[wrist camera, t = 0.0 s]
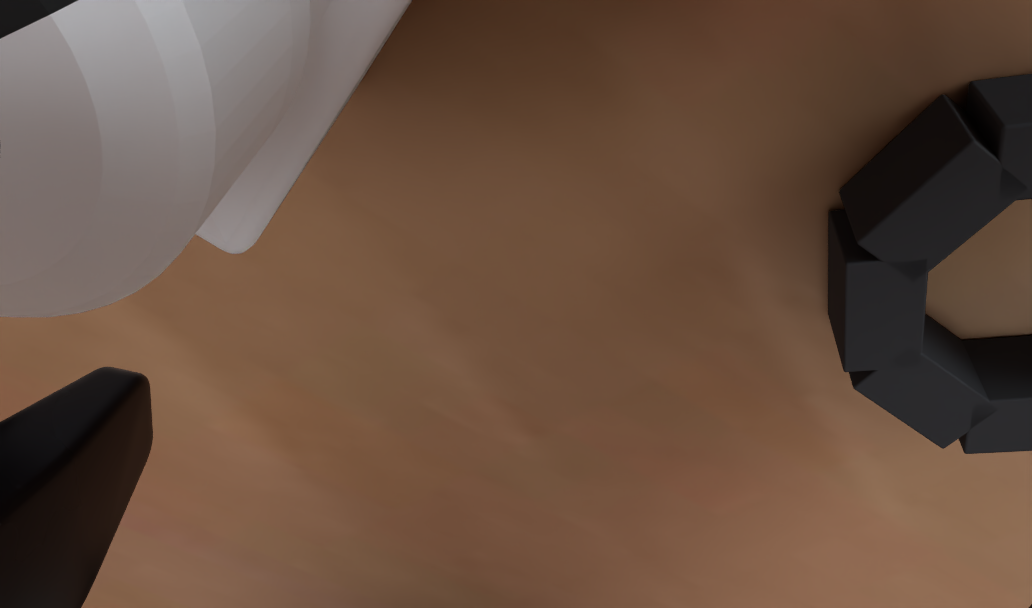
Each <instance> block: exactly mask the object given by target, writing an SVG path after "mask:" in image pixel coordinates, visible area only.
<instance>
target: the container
mask: <svg viewBox="0 0 1032 608" xmlns="http://www.w3.org/2000/svg"><path fill="white" fill-rule="evenodd" d="M411 1H412V0H0V317H55V316H62V315H69V314H77V313H83V312H86V311H89V310H93V309H96V308H100V307H103V306H106V305H110V304H112V303H114V302H116V301H118V300H120V299H123V298H125V297H127V296H129V295H131V294H133V293H135V292H137V291H138V290H140V289H141V288H143V287H144V286H145V285H147V284H148V283H149V282H151V281H152V280H154V279H155V278H156V277H158V276H159V275H160V274H161V273H162V272H163V271H164V270H165V269H166V268H167V267H168V266H169V265H170V264H171V263H172V262H173V261H174V260H175V259H176V258H177V256H178V255H179V254H180V253H181V252H182V251H183V249H184V248H185V247H186V245H187V244H188V243H189V241H190V240H191V239H192V237H193V236H194V235H195V234H196V235H198V236H199V237H201V238H203V239H204V240H206V241H208V242H209V243H211V244H213V245H214V246H216V247H218V248H220V249H221V250H223V251H226V252H228V253H231V254H238V253H243V252H245V251H246V250H248V249H249V248H250V247H251V246H253V245H254V244H255V243H256V241H257V240H258V238H259V237H260V235H261V234H262V232H263V231H264V229H265V228H266V226H267V225H268V223H269V222H270V220H271V218H272V217H273V215H274V214H275V212H276V211H277V209H278V208H279V206H280V205H281V203H282V202H283V200H284V199H285V197H286V195H287V194H288V192H289V191H290V189H291V188H292V186H293V185H294V183H295V182H296V180H297V179H298V177H299V176H300V174H301V173H302V171H303V169H304V168H305V166H306V165H307V163H308V162H309V160H310V159H311V157H312V156H313V154H314V153H315V151H316V150H317V148H318V146H319V145H320V143H321V142H322V140H323V139H324V137H325V136H326V134H327V133H328V131H329V130H330V128H331V127H332V125H333V124H334V122H335V120H336V119H337V117H338V116H339V114H340V113H341V111H342V110H343V108H344V107H345V105H346V104H347V102H348V101H349V99H350V98H351V96H352V94H353V93H354V91H355V90H356V88H357V87H358V85H359V83H360V82H361V80H362V79H363V77H364V76H365V74H366V72H367V71H368V69H369V68H370V66H371V64H372V63H373V61H374V60H375V58H376V57H377V55H378V53H379V52H380V50H381V49H382V47H383V46H384V44H385V42H386V41H387V39H388V38H389V36H390V35H391V33H392V31H393V30H394V28H395V27H396V25H397V23H398V22H399V20H400V19H401V17H402V16H403V14H404V12H405V11H406V9H407V8H408V6H409V5H410V3H411Z"/></svg>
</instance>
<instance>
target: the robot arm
mask: <svg viewBox="0 0 1032 608" xmlns="http://www.w3.org/2000/svg"><path fill="white" fill-rule="evenodd" d="M152 440H153V427H152V411H151V394H150V385H149V381H148V379H147V377H146V376H144V375H142V374H141V373H137V372H132V371H127V370H123V369H118V368H114V367H103V368H99V369H97V370H95V371H93V372H91V373H89V374H87V375H86V376H84V377H82V378H80V379H78V380H76V381H75V382H73V383H71V384H69V385H67V386H65V387H64V388H62V389H60V390H58V391H56V392H54V393H53V394H51V395H49V396H47V397H45V398H43V399H42V400H40V401H38V402H36V403H34V404H32V405H31V406H29V407H27V408H25V409H23V410H21V411H20V412H18V413H16V414H14V415H12V416H11V417H9V418H7V419H5V420H3V421H1V422H0V608H81V607H82V605H83V603H84V601H85V600H86V598H87V596H88V594H89V591H90V589H91V587H92V585H93V583H94V581H95V578H96V576H97V574H98V572H99V569H100V567H101V565H102V563H103V560H104V558H105V556H106V553H107V551H108V549H109V547H110V544H111V542H112V540H113V537H114V535H115V533H116V531H117V528H118V526H119V524H120V521H121V519H122V517H123V514H124V512H125V510H126V508H127V505H128V503H129V501H130V498H131V496H132V494H133V492H134V489H135V487H136V485H137V482H138V480H139V478H140V475H141V473H142V471H143V469H144V466H145V464H146V462H147V459H148V457H149V453H150V450H151V446H152ZM1029 608H1032V604H1031V606H1030V607H1029Z"/></svg>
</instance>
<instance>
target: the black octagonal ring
mask: <svg viewBox="0 0 1032 608" xmlns="http://www.w3.org/2000/svg"><path fill="white" fill-rule="evenodd" d="M839 193H840V196H841V199H842V202H843V205H844V207H845V209H844V210H834V211H829V217H828V315H829V319H830V322H831V326H832V330H833V333H834V337H835V341H836V344H837V348H838V352H839V355H840V359H841V363H842V366H843V370H844V372H849V374H850V378H851V381H852V385H853V388H854V389H855V390H857V391H858V392H860V393H861V394H863V395H864V396H866V397H867V398H869V399H870V400H871V401H873V402H874V403H876V404H877V405H879V406H880V407H882V408H883V409H885V410H886V411H888V412H889V413H891V414H892V415H894V416H895V417H897V418H898V419H900V420H901V421H902V422H904V423H905V424H907V425H908V426H910V427H911V428H913V429H914V430H916V431H917V432H919V433H920V434H922V435H923V436H925V437H926V438H928V439H929V440H931V441H932V442H933V443H935V444H936V445H938V446H939V447H941V448H945V447H947V446H948V445H950V444H951V443H953V442H954V441H955V440H957V439H958V438H959V441H960V443H961V446H962V448H963V451H964V453H965V454H974V453H994V452H1014V451H1032V336H1020V337H1006V338H992V339H978V340H964V341H961V340H960V339H959V338H957V337H956V336H955V335H953V334H952V333H950V332H949V331H948V330H946V329H945V328H944V327H942V326H941V325H939V324H938V323H937V322H935V321H934V320H932V319H931V318H930V317H928V316H927V315H926V314H925V306H926V293H927V280H928V272H929V271H930V270H931V269H932V268H934V267H935V266H936V265H937V264H939V263H940V262H941V261H942V260H943V259H945V258H946V257H947V256H948V255H950V254H951V253H952V252H953V251H954V250H956V249H957V248H958V247H959V246H960V245H962V244H963V243H964V242H965V241H967V240H968V239H969V238H970V237H971V236H973V235H974V234H975V233H976V232H978V231H979V230H980V229H981V228H982V227H984V226H985V225H986V224H987V223H988V222H990V221H991V220H992V219H993V218H995V217H996V216H997V215H998V214H999V213H1001V212H1002V211H1003V210H1004V209H1006V208H1007V207H1008V206H1009V205H1010V204H1012V203H1013V202H1014V201H1015V200H1024V199H1032V74H1027V75H1019V76H1010V77H1002V78H994V79H986V80H978V81H971V82H970V83H969V85H968V96H967V106H966V112H965V111H964V110H963V109H962V108H960V107H959V106H958V105H957V104H955V103H954V102H953V101H952V100H951V99H949V98H948V97H947V96H946V95H943V94H942V95H940V96H939V97H938V98H937V99H936V100H935V101H934V102H933V103H932V104H931V105H930V106H929V107H928V108H927V109H926V110H924V111H923V112H922V113H921V114H920V115H919V116H918V117H917V118H916V119H915V120H914V121H913V122H912V123H911V124H910V125H908V126H907V127H906V128H905V129H904V130H903V131H902V132H901V133H900V134H899V135H898V136H897V137H896V138H895V139H894V140H892V141H891V142H890V143H889V144H888V145H887V146H886V147H885V148H884V149H883V150H882V151H881V152H880V153H879V154H878V155H877V156H875V157H874V158H873V159H872V160H871V161H870V162H869V163H868V164H867V165H866V166H865V167H864V168H863V169H862V170H861V171H859V172H858V173H857V174H856V175H855V176H854V177H853V178H852V179H851V180H850V181H849V182H848V183H847V184H846V185H845V186H844V187H842V188H841V189H840V191H839Z"/></svg>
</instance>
